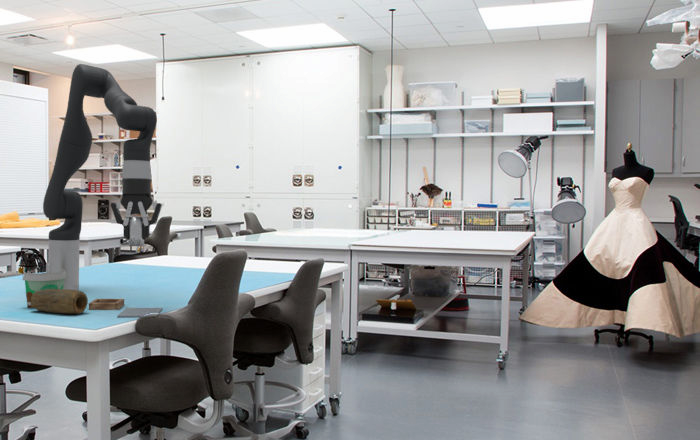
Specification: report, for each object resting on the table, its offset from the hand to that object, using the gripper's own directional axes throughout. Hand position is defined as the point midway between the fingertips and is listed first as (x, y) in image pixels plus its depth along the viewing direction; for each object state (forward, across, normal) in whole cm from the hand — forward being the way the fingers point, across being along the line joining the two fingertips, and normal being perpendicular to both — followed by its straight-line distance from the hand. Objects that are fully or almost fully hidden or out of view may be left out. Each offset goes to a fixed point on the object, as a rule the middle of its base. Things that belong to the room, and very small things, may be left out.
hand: (136, 239), depth 170 cm
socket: (+20, -10, +8) cm, 24 cm away
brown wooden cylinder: (+20, -20, 0) cm, 29 cm away
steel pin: (+2, 0, 0) cm, 2 cm away
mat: (+21, +1, -1) cm, 21 cm away
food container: (+20, -26, +9) cm, 34 cm away
